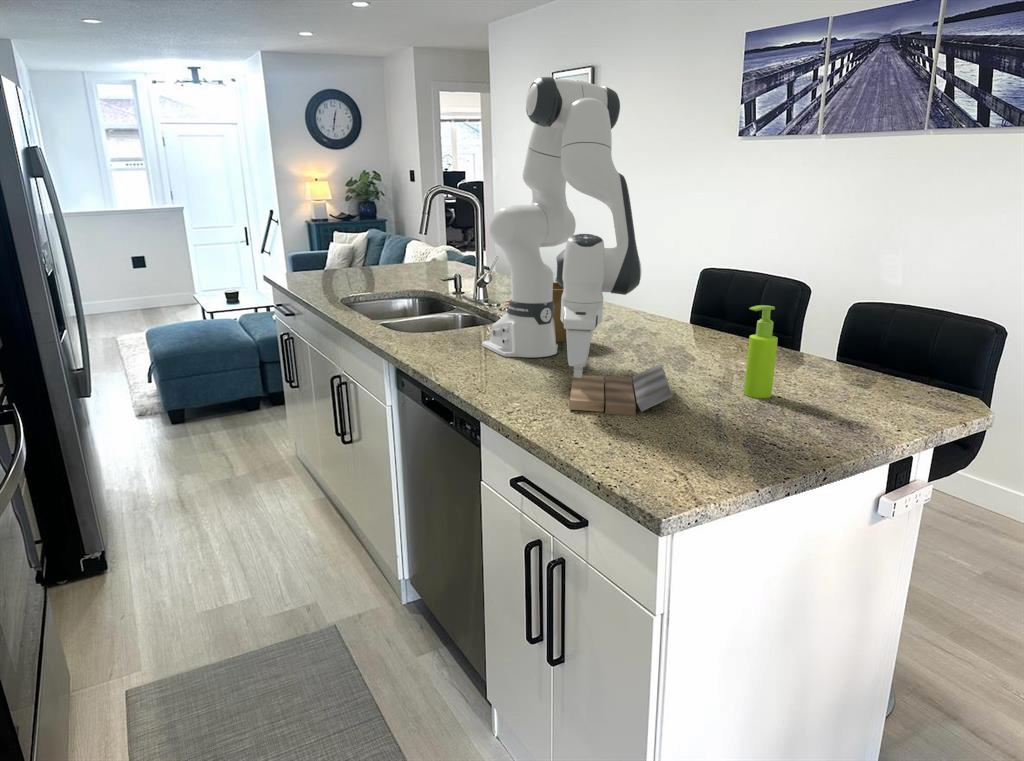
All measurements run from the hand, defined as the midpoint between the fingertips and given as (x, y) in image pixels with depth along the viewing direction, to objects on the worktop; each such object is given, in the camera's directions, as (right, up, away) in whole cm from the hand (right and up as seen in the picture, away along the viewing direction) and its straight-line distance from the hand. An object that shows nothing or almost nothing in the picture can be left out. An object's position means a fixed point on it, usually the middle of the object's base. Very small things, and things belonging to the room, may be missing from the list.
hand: (578, 376), depth 157 cm
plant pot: (-2, +11, +56) cm, 57 cm away
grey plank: (+16, -3, -1) cm, 16 cm away
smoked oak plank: (+2, -4, +1) cm, 5 cm away
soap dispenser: (+40, -4, +4) cm, 40 cm away
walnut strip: (+9, -5, 0) cm, 10 cm away
